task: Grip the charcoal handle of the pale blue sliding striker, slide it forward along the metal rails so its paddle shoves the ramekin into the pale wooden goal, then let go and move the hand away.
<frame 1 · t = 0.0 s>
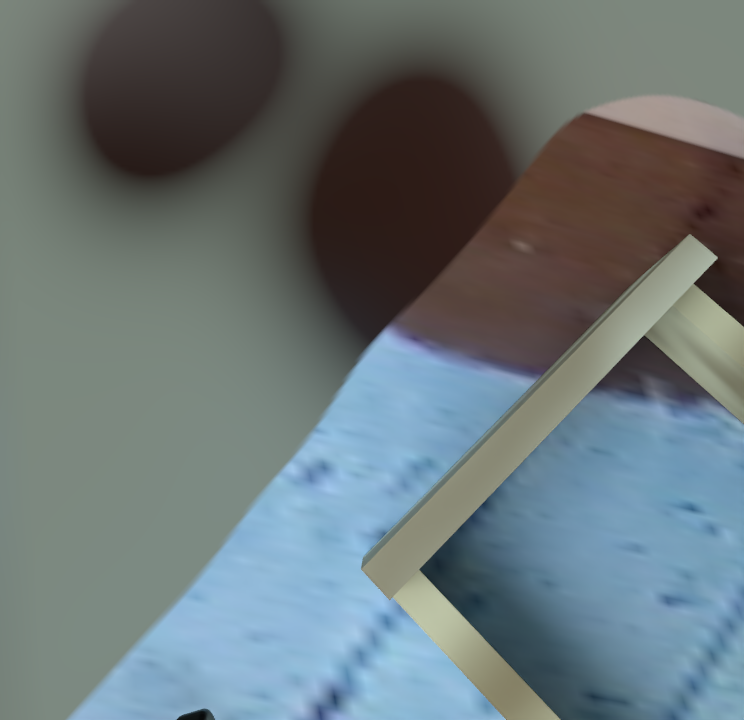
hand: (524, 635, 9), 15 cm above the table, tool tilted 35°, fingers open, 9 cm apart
goal: (623, 531, 24), on the table
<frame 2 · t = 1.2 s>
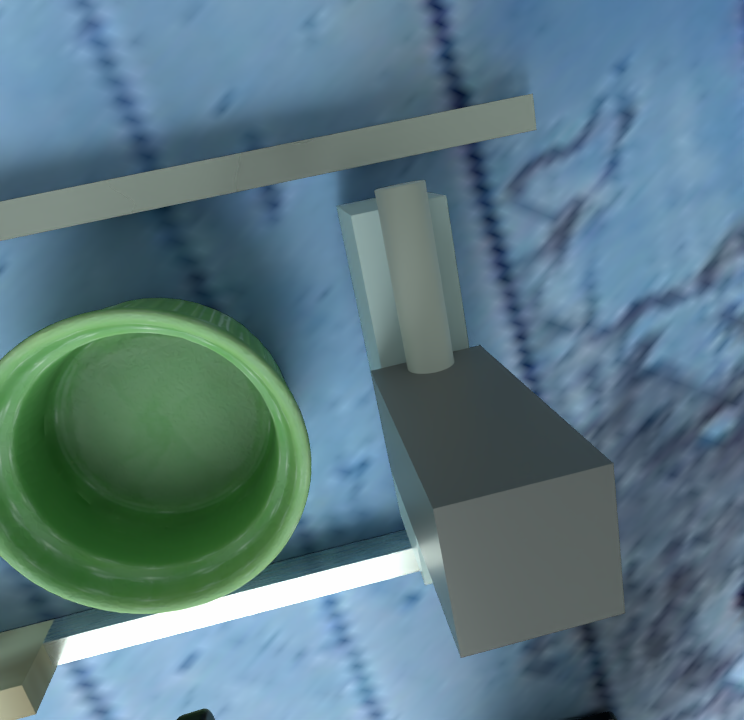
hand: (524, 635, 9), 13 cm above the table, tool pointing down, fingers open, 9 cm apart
ramekin: (170, 411, 21), resting in goal
striker: (448, 431, 16), point 6 cm above the table, slide at 0.0 cm
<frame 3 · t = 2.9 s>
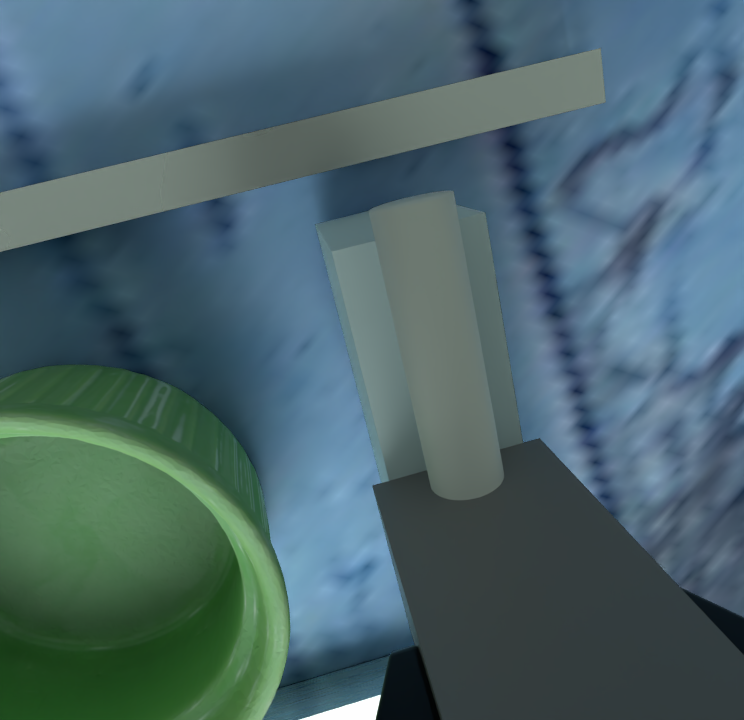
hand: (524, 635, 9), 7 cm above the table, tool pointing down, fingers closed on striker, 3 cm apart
ramekin: (99, 511, 15), resting in goal
striker: (500, 588, 10), point 6 cm above the table, slide at 0.0 cm, touching gripper
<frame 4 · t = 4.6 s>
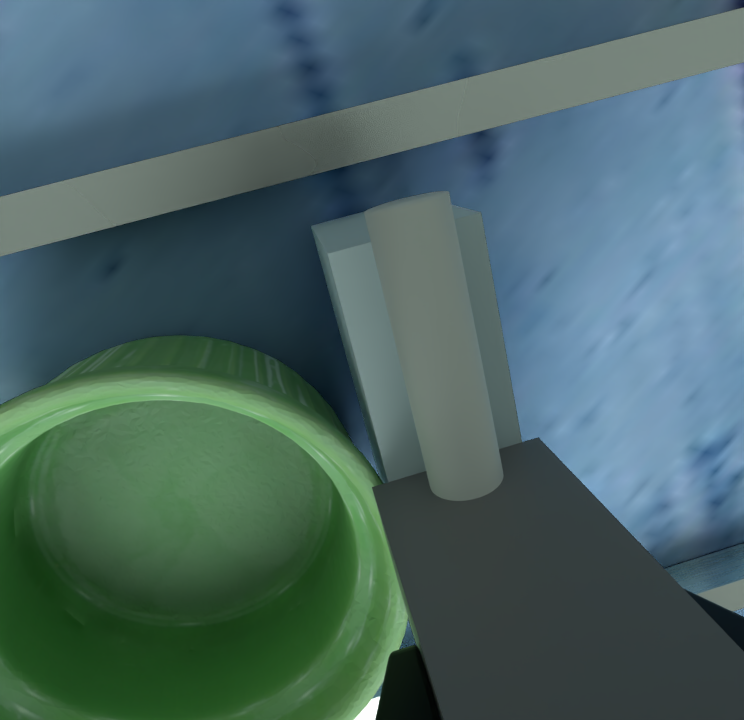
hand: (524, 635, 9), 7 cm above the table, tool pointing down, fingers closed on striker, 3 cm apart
ramekin: (192, 486, 15), resting in goal, touching striker
striker: (500, 588, 10), point 6 cm above the table, slide at 6.0 cm, touching gripper, ramekin
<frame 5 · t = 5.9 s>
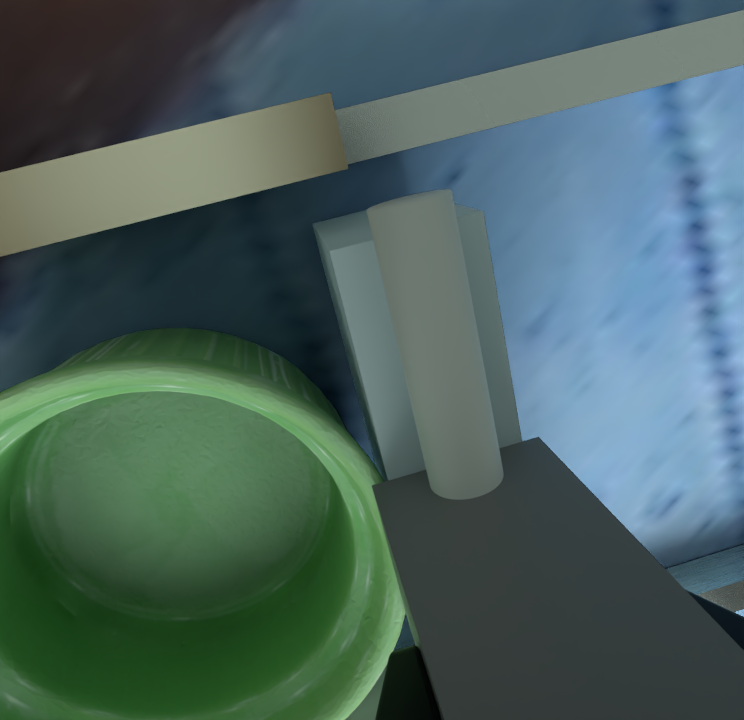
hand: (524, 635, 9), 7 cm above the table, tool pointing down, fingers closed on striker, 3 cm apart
goal: (156, 503, 15), on the table
ramekin: (189, 480, 15), resting in goal, touching striker
striker: (500, 587, 10), point 6 cm above the table, slide at 13.5 cm, touching gripper, ramekin
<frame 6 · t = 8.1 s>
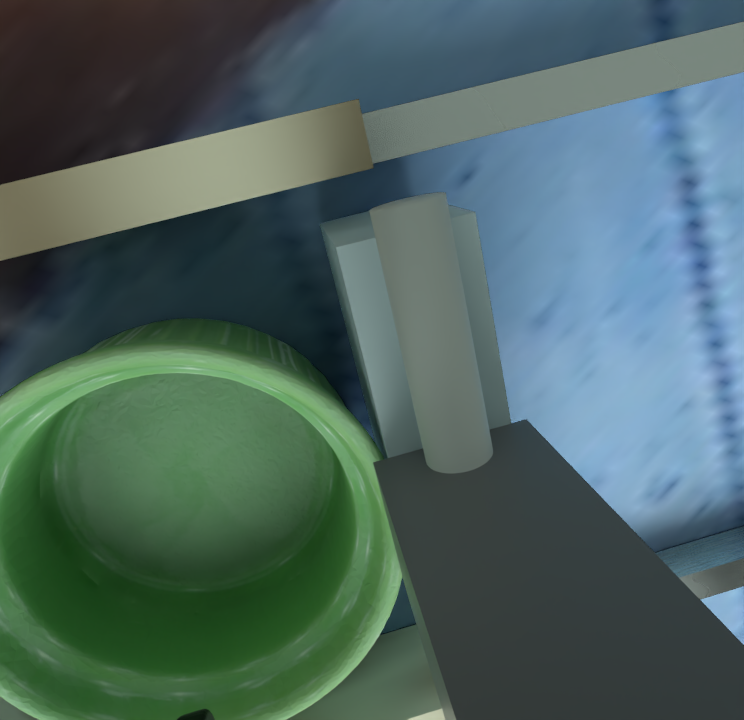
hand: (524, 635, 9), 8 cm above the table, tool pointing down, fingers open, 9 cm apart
goal: (186, 480, 16), on the table
ramekin: (203, 461, 16), resting in goal
striker: (489, 553, 11), point 6 cm above the table, slide at 13.9 cm
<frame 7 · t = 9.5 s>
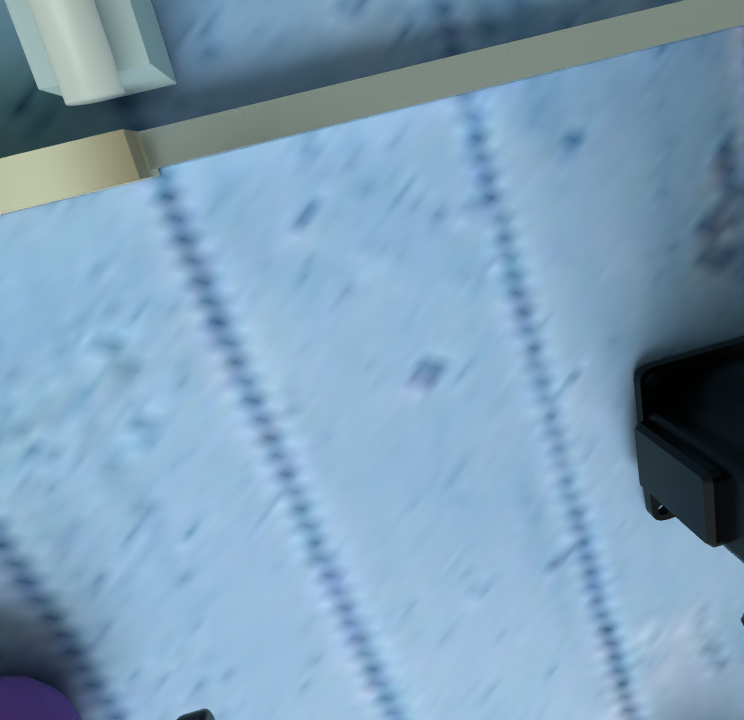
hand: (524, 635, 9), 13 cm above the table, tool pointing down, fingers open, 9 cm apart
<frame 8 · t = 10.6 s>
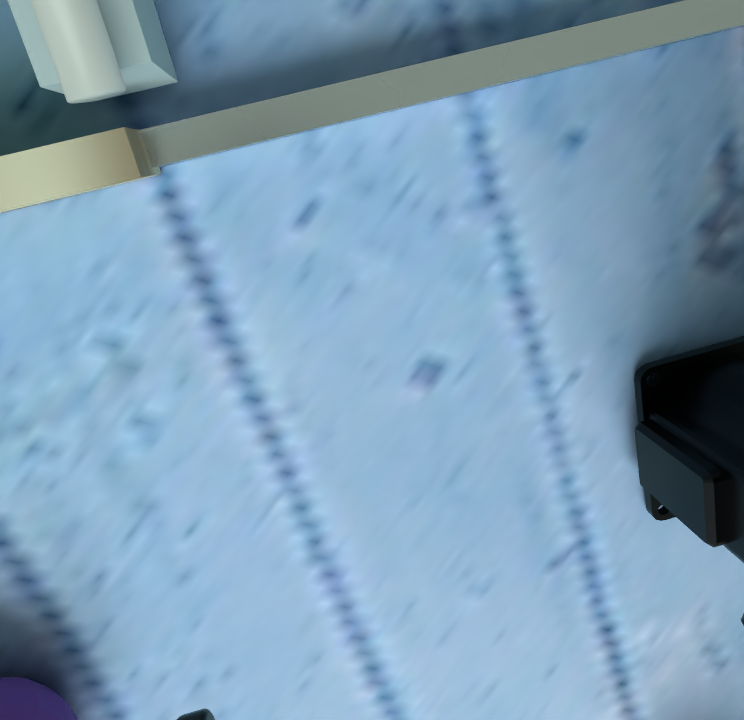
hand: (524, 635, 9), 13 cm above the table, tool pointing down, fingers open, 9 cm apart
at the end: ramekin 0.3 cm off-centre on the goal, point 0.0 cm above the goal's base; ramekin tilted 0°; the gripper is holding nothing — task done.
